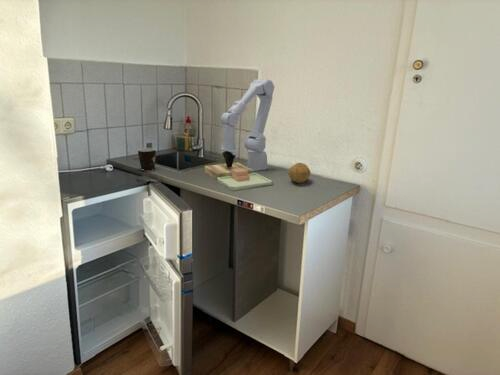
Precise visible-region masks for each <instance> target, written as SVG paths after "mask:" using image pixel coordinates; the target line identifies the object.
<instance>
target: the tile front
mask: <svg viewBox="0 0 500 375" xmlns="http://www.w3.org/2000/svg"><path fill="white" fill-rule="evenodd" d="M232 179H234V180H235V181H237V182H240V181H247V180H250V176H249V175H245V176H237V177H236V176H234V175H233V174H232Z"/></svg>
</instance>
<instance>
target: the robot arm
mask: <svg viewBox="0 0 500 375" xmlns="http://www.w3.org/2000/svg"><path fill="white" fill-rule="evenodd" d="M274 92H275V85H274V83H273V81H272V80H271V79H258V78H255V79H253V81H252V82H250V84H249V88H248V89H247V90H246V92H245V94H243V96H241V99H240V100H236V101H234V102H233V105H231V107H230V108H229V109H227V112H223V113H222V115H221V116H220V118H219V119H220V120H219V121H220V123H221V126H222V143H223V144H221V146H220V150H221V151H224V152H222V155H223V158H224V161H225V164H226V166H227V167H228V168H229V167H232V164H233V163H234V160H235V158H236V156H238V155H239V151H238V149H237V148H236V125H237V124H238V123H239V119H240V117H241V115H242V114H244V112H245V111H246V109H247V105H248V104H249V103H250V102H251V101H252V100H253V99H254V97H255V96H256V97H258V98H259V101H260V102H259V105H258V108H257V113H256V117H255V120H254V124H253V127H252V131H251V132H249V133H248V134H247V137H246V139H245V140H244V148H245V150H246V152H247V167H248V168H250V169H252V170H253V172H256V171H257V172H259V171H263V170H264V171H265V170H266V171H267V170H268V154H267V153H266V151H265V149H266V146H267V145H266V144H267V143H266V141H267V137H266V136H265V135H264V132H265V128H266V124H267V120H268V117H269V114H270V113H269V112H270V110H271V106H272V102H273V94H274Z"/></svg>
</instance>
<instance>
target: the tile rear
mask: <svg viewBox="0 0 500 375" xmlns="http://www.w3.org/2000/svg"><path fill="white" fill-rule="evenodd" d="M231 174H233V175H234V176H236V177H237V176H245V175H248V170H246V169H244V168H237V169H231Z"/></svg>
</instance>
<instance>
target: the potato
mask: <svg viewBox="0 0 500 375" xmlns="http://www.w3.org/2000/svg"><path fill="white" fill-rule="evenodd" d="M288 176H289V178H290V179H291V180H292V181H293V182H295V183H297V184H301V183H304V182H306V181H307V180H308V179H309V178H310V176H311V169H310V168H309V166H308V165H306V164H305V163H303V162H297V163H295V164H293V165H291V167H289V169H288Z"/></svg>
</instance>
